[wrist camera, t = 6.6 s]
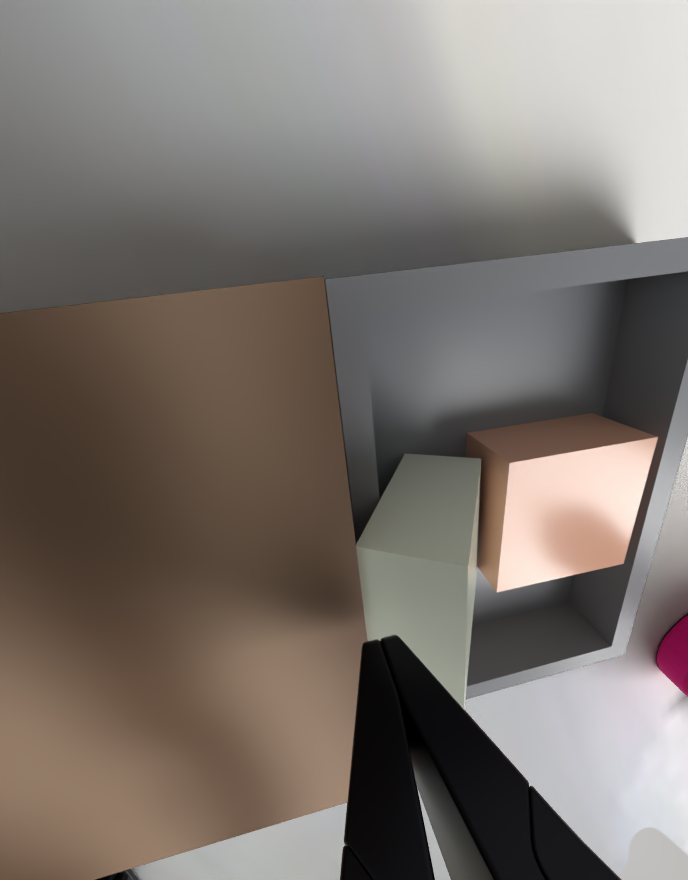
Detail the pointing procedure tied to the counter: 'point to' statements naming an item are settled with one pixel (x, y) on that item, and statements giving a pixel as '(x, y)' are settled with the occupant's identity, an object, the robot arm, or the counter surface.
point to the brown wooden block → (171, 576)
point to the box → (520, 410)
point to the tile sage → (425, 563)
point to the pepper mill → (675, 655)
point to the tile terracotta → (557, 497)
